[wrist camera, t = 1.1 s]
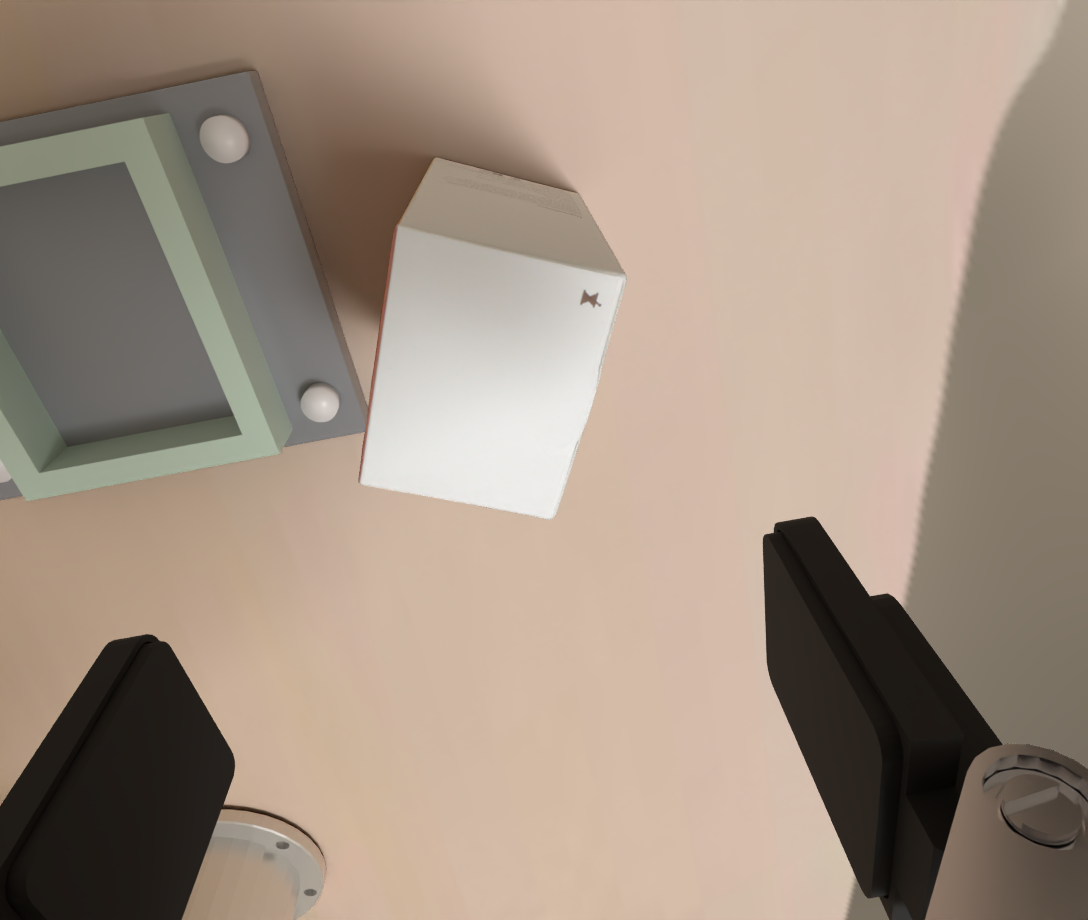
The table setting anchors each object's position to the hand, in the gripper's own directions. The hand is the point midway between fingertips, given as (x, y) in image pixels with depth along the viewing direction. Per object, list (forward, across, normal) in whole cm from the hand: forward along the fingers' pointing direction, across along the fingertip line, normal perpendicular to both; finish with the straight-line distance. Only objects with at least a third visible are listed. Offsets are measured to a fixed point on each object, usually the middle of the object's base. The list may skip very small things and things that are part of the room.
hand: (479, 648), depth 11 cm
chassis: (+23, +16, -1) cm, 28 cm away
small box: (+24, 0, 0) cm, 24 cm away
